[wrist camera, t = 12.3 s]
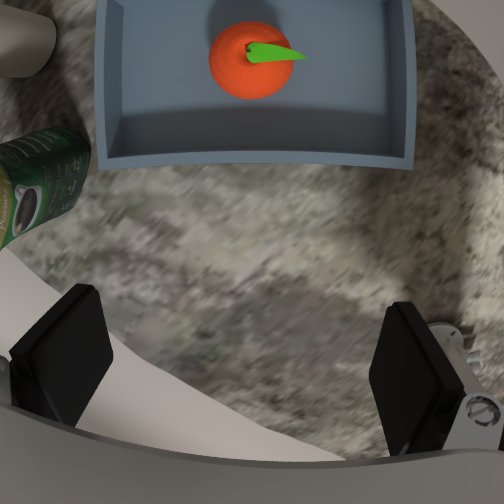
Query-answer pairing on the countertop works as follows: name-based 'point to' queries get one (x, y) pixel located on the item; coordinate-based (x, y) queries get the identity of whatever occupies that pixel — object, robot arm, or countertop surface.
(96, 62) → the bin
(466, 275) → the countertop surface
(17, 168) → the coffee jar
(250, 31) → the clementine
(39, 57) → the travel mug
